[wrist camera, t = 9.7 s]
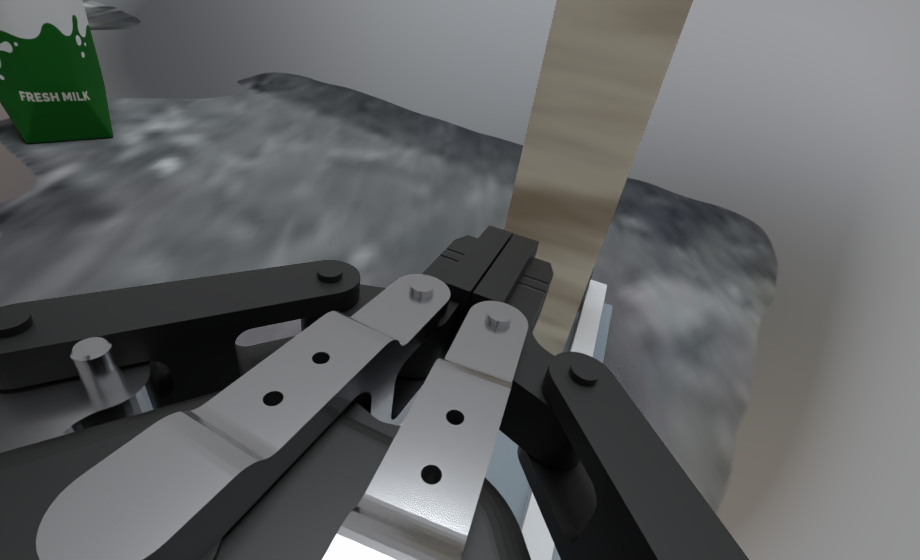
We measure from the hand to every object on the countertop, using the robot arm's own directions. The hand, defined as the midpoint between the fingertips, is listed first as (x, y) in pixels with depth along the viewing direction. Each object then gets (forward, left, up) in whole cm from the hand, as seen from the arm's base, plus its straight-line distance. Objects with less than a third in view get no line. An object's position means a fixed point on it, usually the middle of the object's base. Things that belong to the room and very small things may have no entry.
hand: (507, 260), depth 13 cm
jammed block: (+10, +7, -11) cm, 16 cm away
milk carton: (-15, +53, -12) cm, 57 cm away
